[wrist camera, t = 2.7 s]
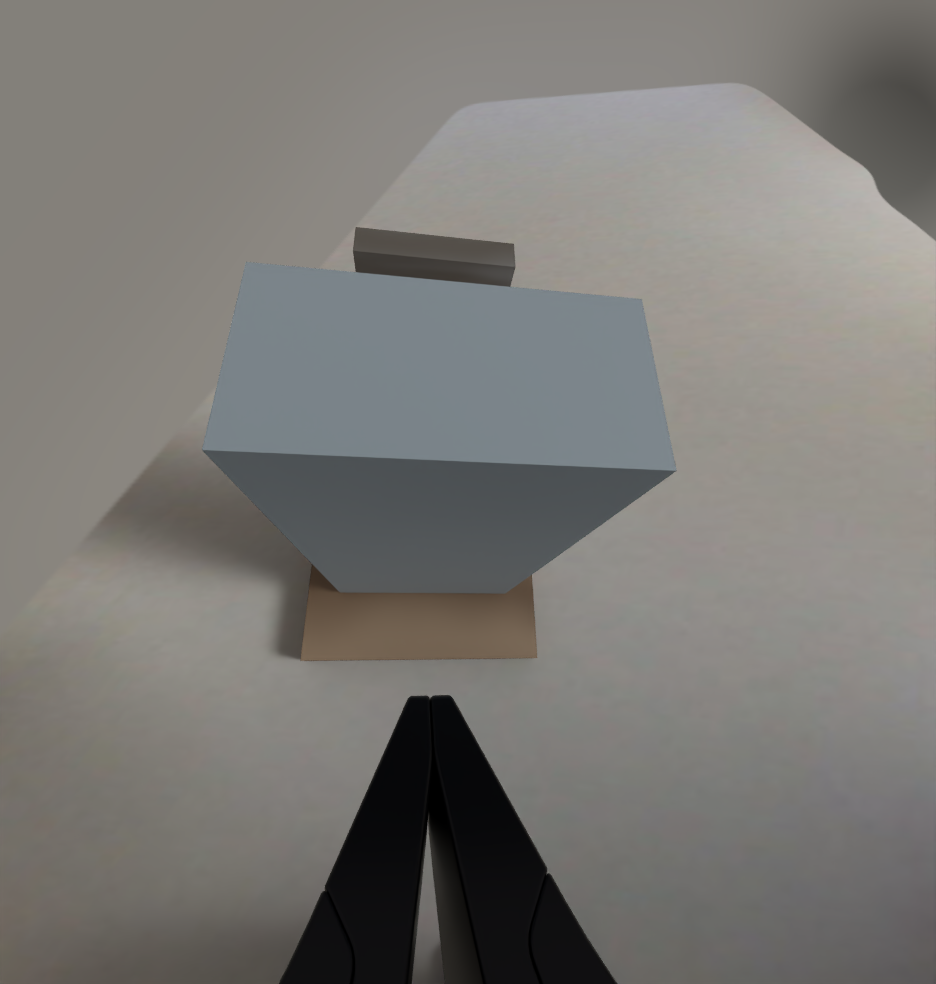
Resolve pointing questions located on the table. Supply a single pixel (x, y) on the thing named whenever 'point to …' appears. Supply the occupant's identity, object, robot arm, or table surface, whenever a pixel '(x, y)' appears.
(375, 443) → the block
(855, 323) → the table surface
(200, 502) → the table surface
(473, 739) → the robot arm
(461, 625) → the press bed
